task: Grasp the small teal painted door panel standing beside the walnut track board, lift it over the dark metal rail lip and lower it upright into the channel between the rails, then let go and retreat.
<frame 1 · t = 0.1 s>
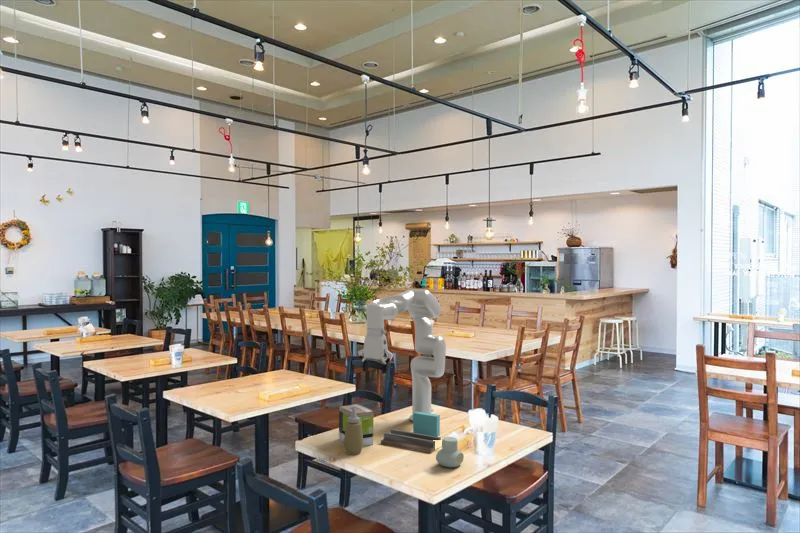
hand: (375, 372, 227), 31 cm above the table, tool pointing down, fingers open, 9 cm apart
squeeze bottle: (353, 453, 216), on the table
door panel: (426, 436, 239), on the table
tea box: (355, 442, 230), on the table
grey rounded branched piece: (449, 465, 203), on the table
track: (411, 444, 227), on the table
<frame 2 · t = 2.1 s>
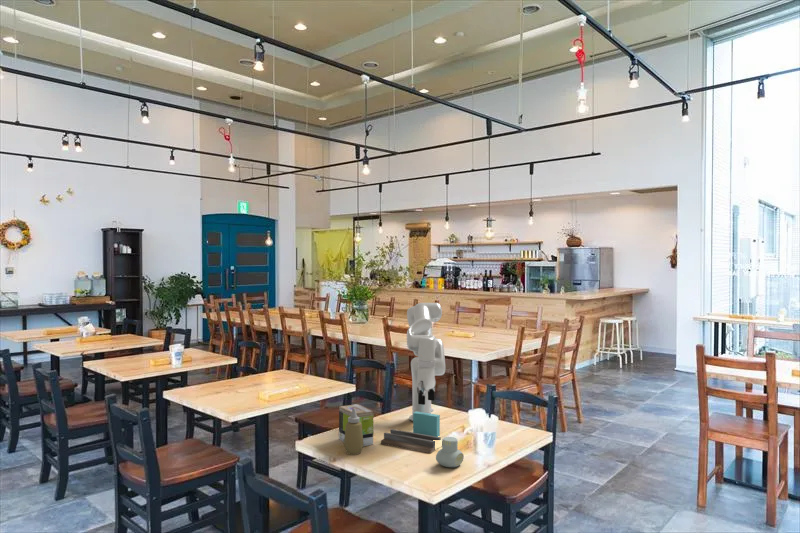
hand: (426, 402, 239), 15 cm above the table, tool pointing down, fingers open, 9 cm apart
nothing on the table moved.
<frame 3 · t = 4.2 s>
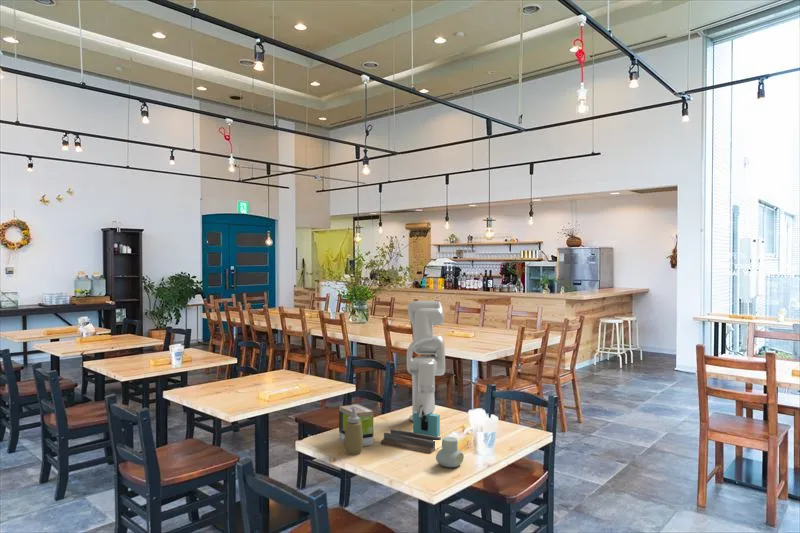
hand: (426, 428, 239), 3 cm above the table, tool pointing down, fingers closed on door panel, 3 cm apart
door panel: (426, 435, 239), on the table, touching gripper
everything else where it was.
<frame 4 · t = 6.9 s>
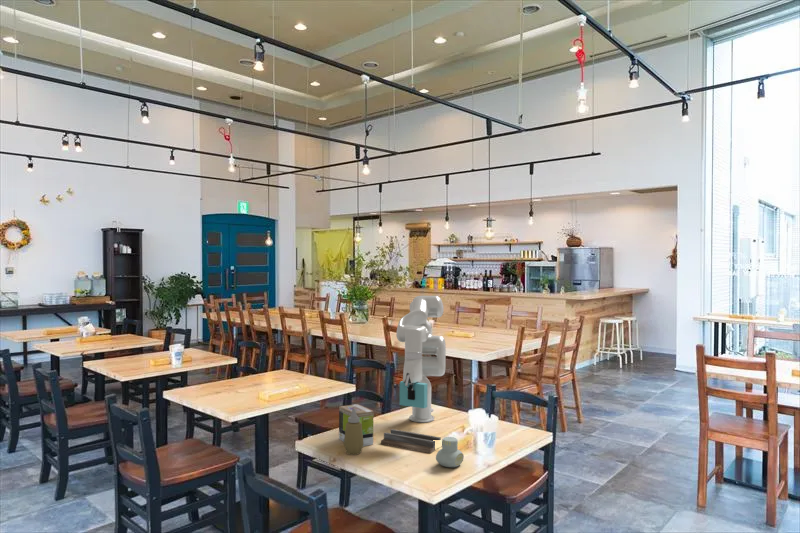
hand: (413, 398, 228), 20 cm above the table, tool pointing down, fingers closed on door panel, 3 cm apart
door panel: (413, 405, 228), point 16 cm above the table, touching gripper
everything else where it was.
when the fingers open (6 cm above the table, at t = 9.6 s): door panel drops 1 cm, resting on track.
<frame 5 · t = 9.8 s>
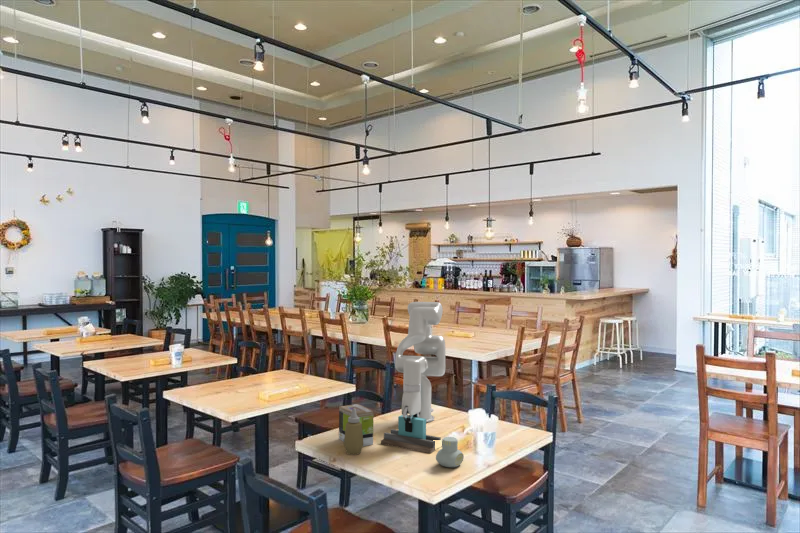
hand: (411, 429, 227), 6 cm above the table, tool pointing down, fingers open, 5 cm apart
door panel: (411, 441, 227), point 1 cm above the table, touching track
everything else where it was.
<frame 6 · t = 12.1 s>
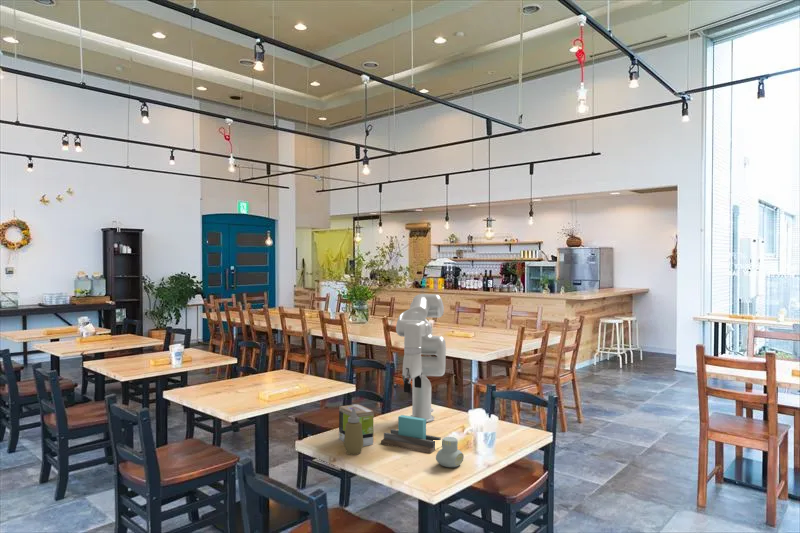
hand: (412, 389, 230), 23 cm above the table, tool pointing down, fingers open, 9 cm apart
nothing on the table moved.
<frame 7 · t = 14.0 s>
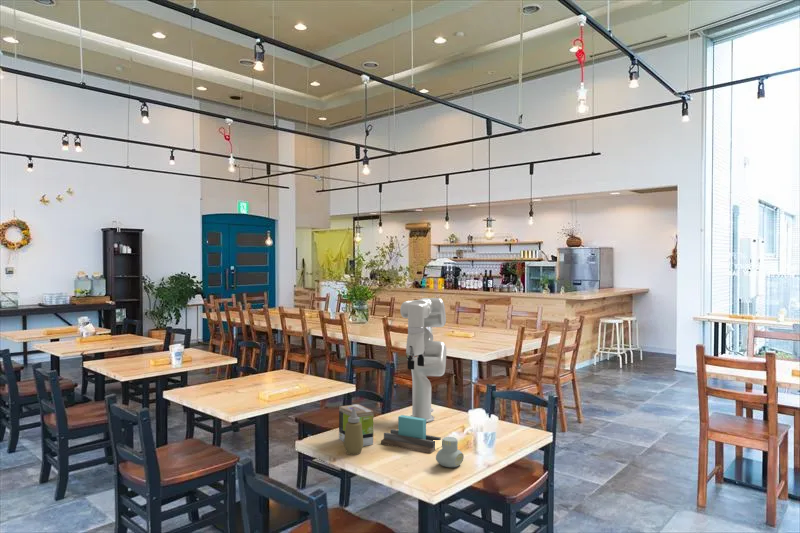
hand: (415, 367, 243), 30 cm above the table, tool pointing down, fingers open, 9 cm apart
nothing on the table moved.
at the end: door panel inside the target area on the track (0.1 cm from its centre), point 1.5 cm above the track's base; door panel tilted 0°; the gripper is holding nothing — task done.
